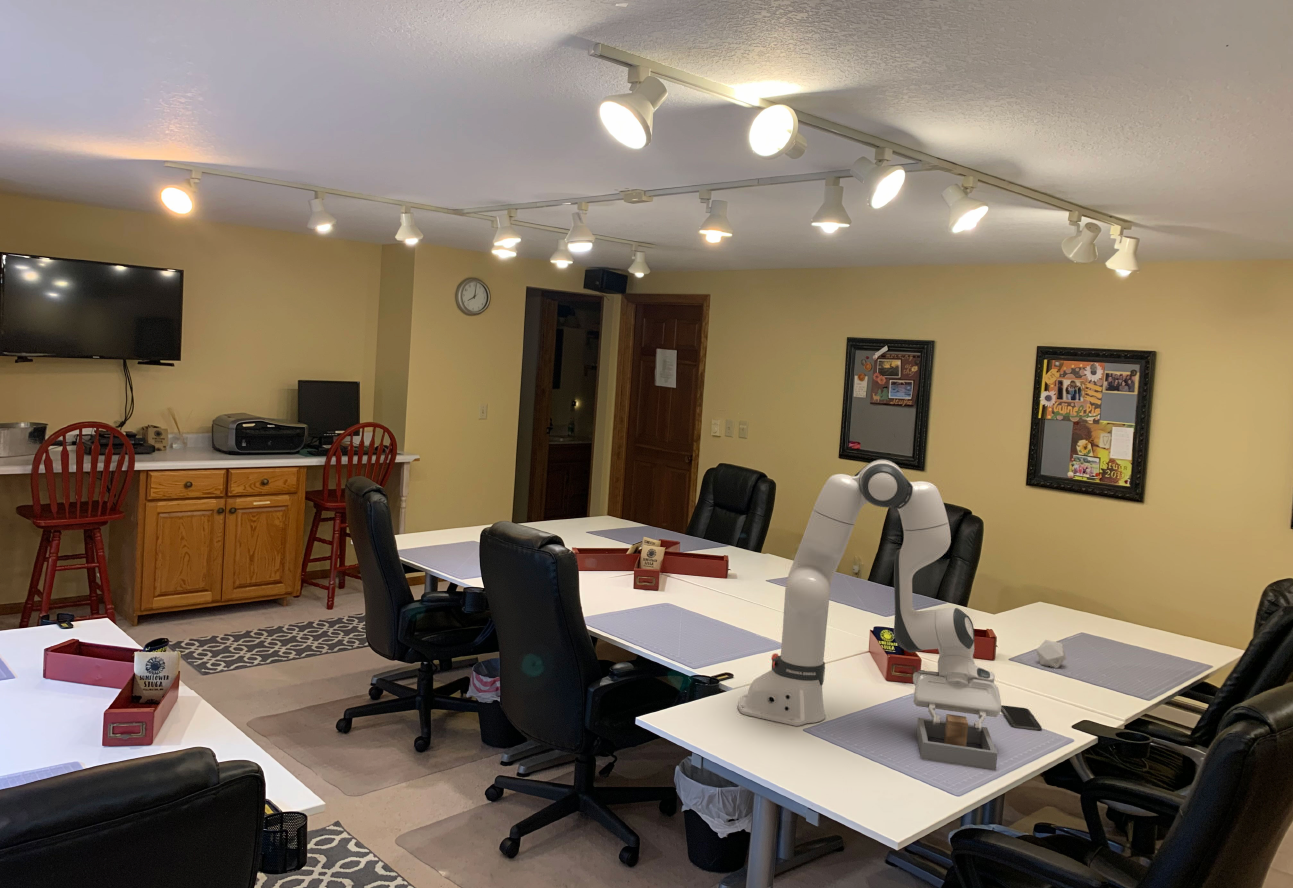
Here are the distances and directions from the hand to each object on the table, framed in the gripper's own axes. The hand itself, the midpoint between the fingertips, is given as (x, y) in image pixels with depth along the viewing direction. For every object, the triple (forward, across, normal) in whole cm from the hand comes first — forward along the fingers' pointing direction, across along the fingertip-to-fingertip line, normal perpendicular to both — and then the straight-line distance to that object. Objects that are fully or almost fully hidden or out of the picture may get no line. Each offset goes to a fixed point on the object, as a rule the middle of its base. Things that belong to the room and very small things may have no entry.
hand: (957, 726), depth 219 cm
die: (-57, +39, +66) cm, 96 cm away
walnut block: (+4, 0, +5) cm, 6 cm away
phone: (-17, +20, +26) cm, 37 cm away
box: (+4, 0, +5) cm, 6 cm away
